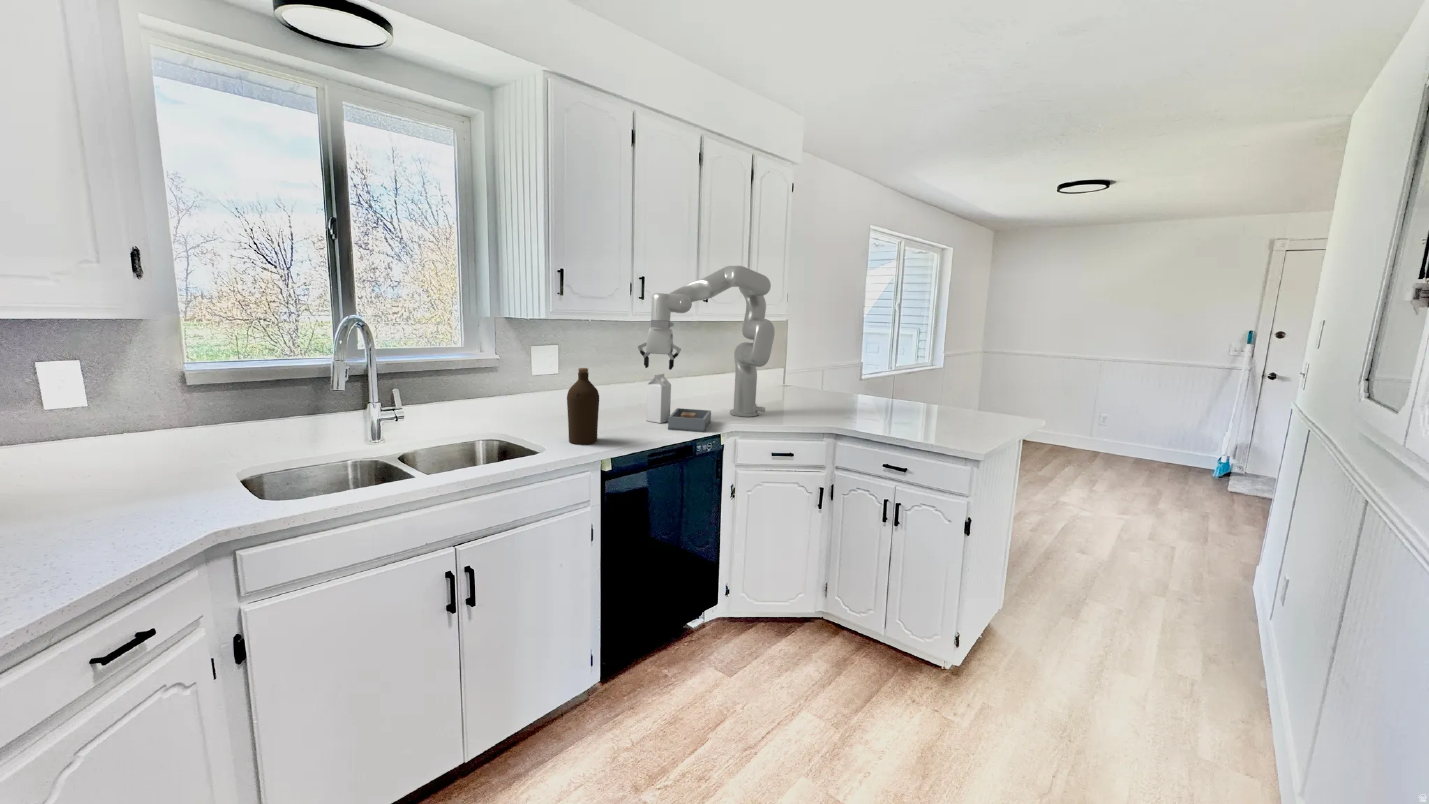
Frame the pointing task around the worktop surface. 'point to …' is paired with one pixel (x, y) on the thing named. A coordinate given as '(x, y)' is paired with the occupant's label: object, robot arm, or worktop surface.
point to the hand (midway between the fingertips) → (658, 368)
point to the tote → (689, 420)
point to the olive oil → (583, 410)
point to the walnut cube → (688, 415)
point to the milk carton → (658, 399)
